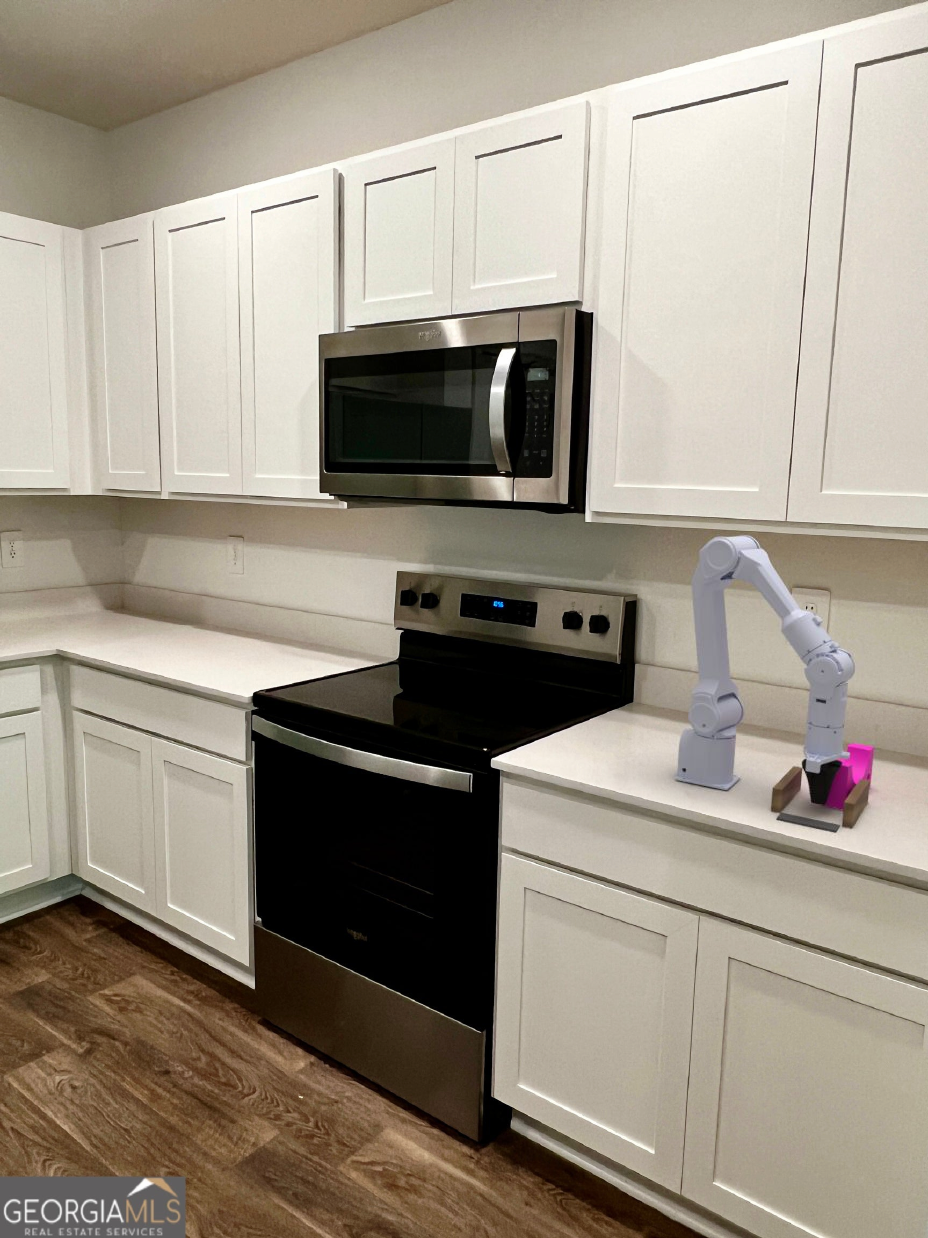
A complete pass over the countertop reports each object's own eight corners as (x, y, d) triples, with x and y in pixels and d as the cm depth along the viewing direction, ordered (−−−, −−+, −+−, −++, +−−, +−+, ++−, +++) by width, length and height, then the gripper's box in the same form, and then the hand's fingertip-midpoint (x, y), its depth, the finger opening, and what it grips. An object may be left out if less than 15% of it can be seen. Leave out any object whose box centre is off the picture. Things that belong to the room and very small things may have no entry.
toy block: (834, 779, 165) (837, 740, 163) (870, 787, 161) (874, 747, 160) (806, 801, 153) (810, 758, 152) (844, 810, 149) (848, 767, 148)
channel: (770, 811, 148) (772, 787, 148) (791, 787, 160) (793, 766, 159) (852, 828, 141) (854, 804, 141) (867, 803, 153) (870, 780, 152)
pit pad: (776, 819, 145) (776, 818, 144) (781, 814, 147) (781, 812, 147) (835, 832, 140) (836, 830, 140) (839, 826, 142) (839, 825, 142)
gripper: (842, 738, 139) (834, 822, 141) (860, 718, 151) (853, 796, 153) (795, 730, 143) (788, 812, 145) (816, 711, 155) (809, 787, 157)
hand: (818, 803), depth 149 cm, fingers closed
